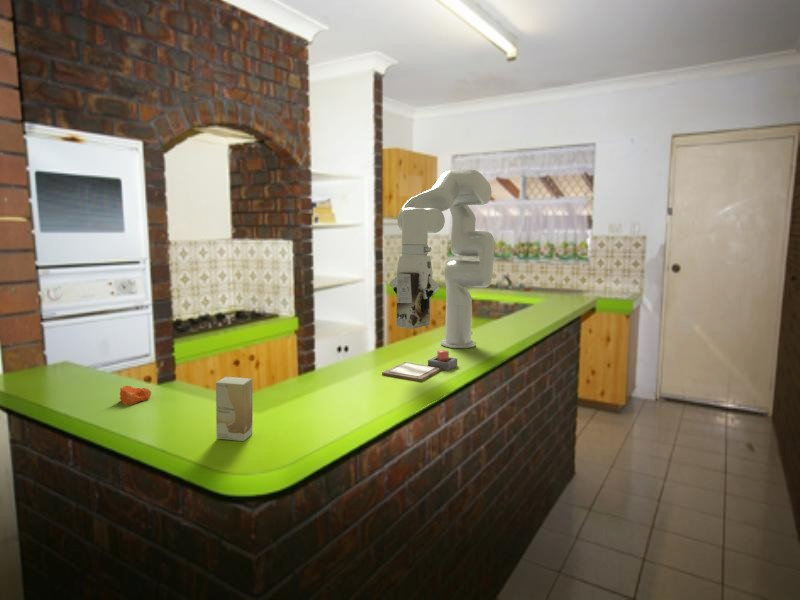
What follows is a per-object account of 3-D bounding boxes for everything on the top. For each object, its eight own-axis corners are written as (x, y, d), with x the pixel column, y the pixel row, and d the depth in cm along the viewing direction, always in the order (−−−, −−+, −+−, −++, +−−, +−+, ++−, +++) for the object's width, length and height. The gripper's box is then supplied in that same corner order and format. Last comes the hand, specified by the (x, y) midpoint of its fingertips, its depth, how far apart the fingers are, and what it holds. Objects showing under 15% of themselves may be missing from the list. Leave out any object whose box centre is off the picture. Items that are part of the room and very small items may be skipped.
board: (404, 364, 168) (404, 361, 168) (441, 370, 162) (441, 367, 162) (382, 374, 156) (382, 371, 156) (421, 381, 150) (421, 378, 150)
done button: (440, 359, 168) (440, 349, 168) (450, 361, 166) (450, 351, 166) (435, 361, 165) (435, 352, 165) (445, 363, 163) (445, 353, 163)
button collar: (437, 362, 171) (437, 355, 170) (457, 365, 167) (457, 358, 167) (427, 367, 165) (427, 360, 164) (448, 370, 161) (448, 363, 161)
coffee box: (413, 329, 151) (414, 273, 149) (395, 326, 155) (396, 272, 153) (430, 324, 159) (431, 271, 156) (413, 322, 163) (414, 270, 160)
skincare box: (215, 439, 108) (213, 382, 106) (226, 431, 112) (224, 375, 111) (245, 441, 107) (243, 383, 105) (254, 433, 111) (252, 377, 110)
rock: (173, 400, 133) (172, 384, 133) (125, 415, 123) (124, 397, 122) (144, 392, 140) (143, 376, 139) (96, 405, 129) (95, 388, 129)
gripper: (446, 251, 153) (445, 311, 155) (395, 249, 161) (394, 306, 164) (435, 252, 146) (434, 315, 149) (382, 250, 155) (382, 309, 157)
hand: (413, 310), depth 156 cm, fingers closed on coffee box, 6 cm apart
